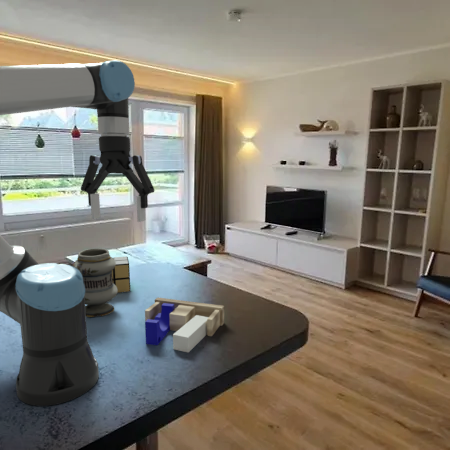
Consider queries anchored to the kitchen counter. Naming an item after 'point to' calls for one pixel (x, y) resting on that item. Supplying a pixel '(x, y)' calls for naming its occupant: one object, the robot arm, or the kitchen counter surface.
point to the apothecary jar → (97, 280)
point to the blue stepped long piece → (158, 325)
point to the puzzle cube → (121, 274)
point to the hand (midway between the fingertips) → (118, 219)
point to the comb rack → (188, 313)
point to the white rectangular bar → (190, 334)
